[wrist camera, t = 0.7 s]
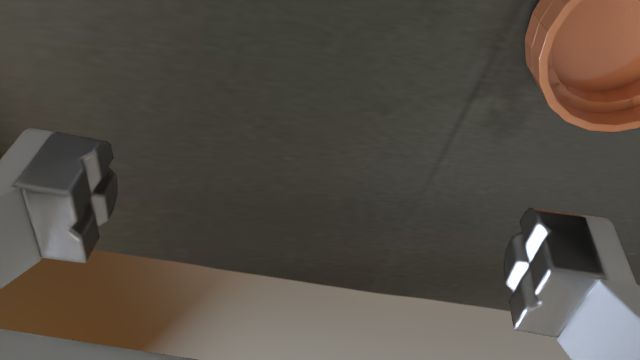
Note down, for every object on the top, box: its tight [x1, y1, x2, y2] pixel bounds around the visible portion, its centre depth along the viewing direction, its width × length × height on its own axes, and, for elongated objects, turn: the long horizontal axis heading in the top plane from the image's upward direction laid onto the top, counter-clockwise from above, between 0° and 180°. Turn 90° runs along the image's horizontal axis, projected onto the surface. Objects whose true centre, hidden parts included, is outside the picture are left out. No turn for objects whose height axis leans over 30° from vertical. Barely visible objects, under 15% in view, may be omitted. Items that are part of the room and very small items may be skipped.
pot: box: [525, 0, 640, 132], centre depth 54 cm, size 17×17×6 cm
